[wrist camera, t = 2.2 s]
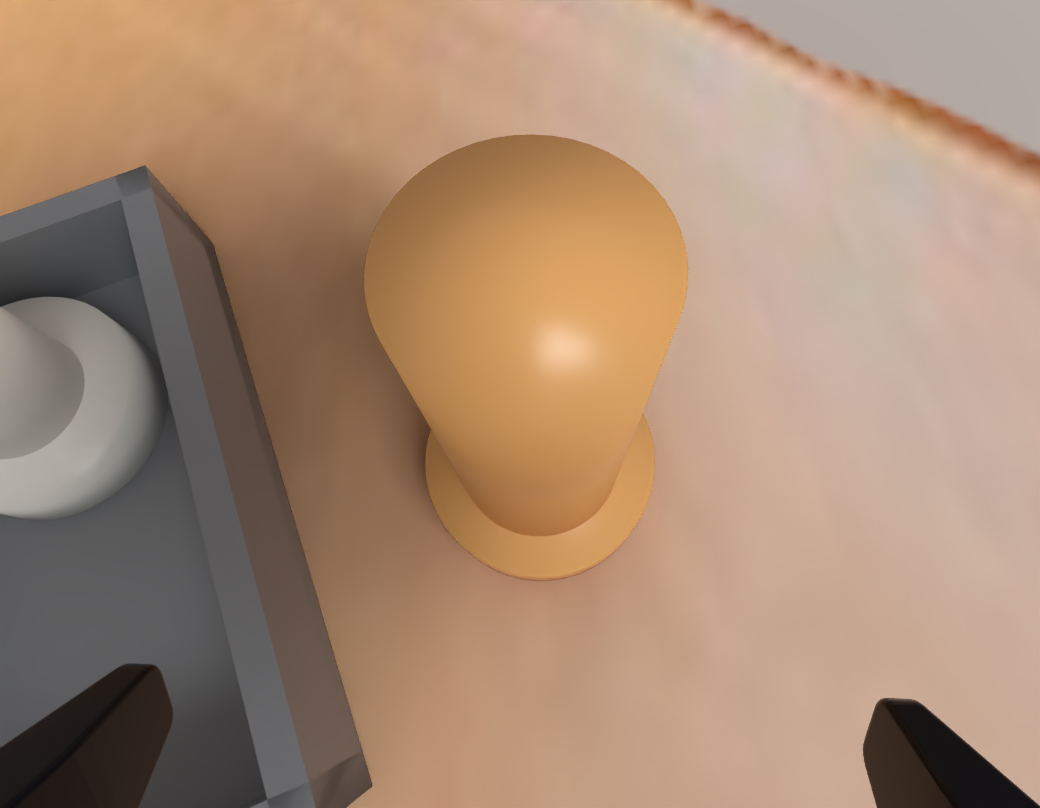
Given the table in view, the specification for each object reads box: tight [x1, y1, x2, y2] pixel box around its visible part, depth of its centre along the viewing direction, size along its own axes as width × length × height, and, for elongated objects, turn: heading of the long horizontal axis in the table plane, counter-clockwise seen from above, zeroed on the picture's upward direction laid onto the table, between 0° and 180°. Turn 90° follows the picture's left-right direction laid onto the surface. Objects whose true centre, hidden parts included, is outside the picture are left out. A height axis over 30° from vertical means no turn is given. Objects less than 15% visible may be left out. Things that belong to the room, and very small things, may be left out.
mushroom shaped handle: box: [364, 135, 688, 581], centre depth 16 cm, size 7×7×13 cm
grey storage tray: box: [0, 165, 372, 808], centre depth 19 cm, size 20×12×7 cm, turn 22°
